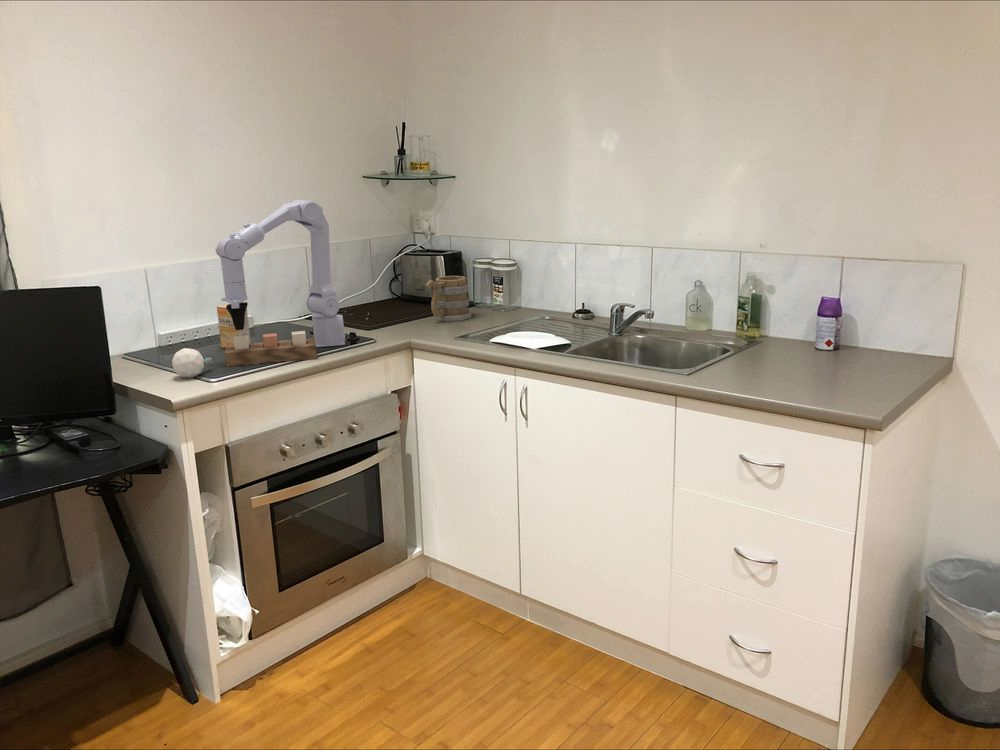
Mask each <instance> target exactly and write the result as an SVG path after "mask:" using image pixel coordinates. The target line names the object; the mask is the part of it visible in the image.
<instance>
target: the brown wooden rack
mask: <svg viewBox="0 0 1000 750" xmlns="http://www.w3.org/2000/svg"><path fill="white" fill-rule="evenodd" d="M224 349H225V350H224V360H225V361H224V362H225V367H226V368H229V366H231V367H239V366H238V365H243V366H249V365H248V364H254V365H260V364H259V363H265V364H269V363H268V362H277V363H280V362H279V361H286V362H287V361H288V362H297V361H308V360H309V361H310V360H318V353H317V352H318V350H317V347H316V342H315V338H314V337H311V338H306V344H301V345H293V341H292V339H287V340H286V339H285V340H284V339H283V340H278V347H266V348H264V342H263V341H260V342H252V343H249V349H242V350H235V347H234V345H227V346H226V348H224ZM286 362H285V363H286ZM288 362H287V363H288Z"/></svg>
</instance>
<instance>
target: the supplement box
mask: <svg viewBox="0 0 1000 750" xmlns="http://www.w3.org/2000/svg"><path fill="white" fill-rule="evenodd" d="M228 304H229V303H225V304H221V305H217V306H216V313H217V320H218V321H217V322H218V329H219V338H220V346H221V348H222V349H226V346H227V345H234V337H236V336H248V339H249V343H251V335H250V325H249V324H250V323H249V316H248V307H247V308H246V311H245V322H244V329H243V330H236V329H235V327H234V323H233V320H232V317H231V315H230V313H229V312H228V310H227V309H226V306H227V305H228Z"/></svg>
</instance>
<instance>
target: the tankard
mask: <svg viewBox="0 0 1000 750" xmlns="http://www.w3.org/2000/svg"><path fill="white" fill-rule="evenodd" d="M425 287H426V289H431V288H432V295H431V297H432V298H431V302H430V305H431V306H430V307H431V308H430V309H431V312H432V314H433V317H434V319H435V320H436V321H441V322H459V321H460V322H461V321H465V320H468V319H471V318H472V312H471V311H470V309H468V307H469V306H470V305H469V304H470V299H469V298H468V295H467V294H468V293H469V285H468V283H467V277H465V276H464V275H463V276H461V275H447V276H446V275H444V276H439V277H436V278H435V281H434V280H432V279H429V280H428V281H427V282H426V284H425Z"/></svg>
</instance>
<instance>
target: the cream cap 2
mask: <svg viewBox="0 0 1000 750" xmlns="http://www.w3.org/2000/svg"><path fill="white" fill-rule="evenodd" d="M291 338H292V339H291V340H292V341H293V345H301V344H306V339H307V335H306V331H305V330H300V331H299V330H298V331H291Z"/></svg>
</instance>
